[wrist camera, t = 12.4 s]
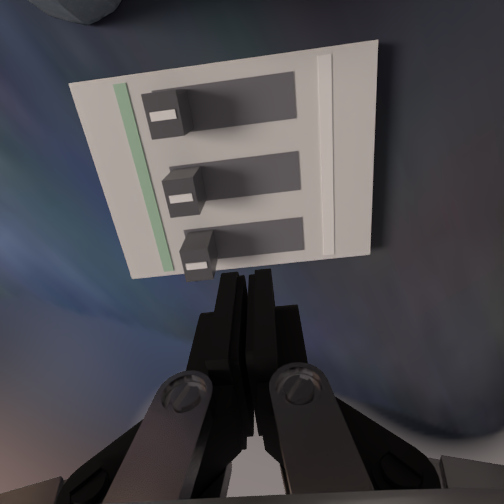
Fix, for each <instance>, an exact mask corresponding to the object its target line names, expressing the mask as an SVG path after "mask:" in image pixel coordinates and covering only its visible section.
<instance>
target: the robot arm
mask: <svg viewBox="0 0 504 504" xmlns="http://www.w3.org/2000/svg"><path fill="white" fill-rule="evenodd" d="M254 411H255V417H256V423H257V428H258V434H259V436H263V440H264V446H265V450H266V451H267V452H268V453H269V454H270V455H271V456H272V457H274V459H276V460H277V461H278V462H279V463H280V469H281V474H282V479H283V484H284V489H285V494H286V495H268V496H247V497H226V496H227V491H228V486H229V481H230V477H231V471H232V462H231V461H232V460H233V459H234V458H235V457H236V456H237V455H238V454H239V453H240V452H241V450H243V449H244V450H245V449H246V448H247V437H250V436H253V434H254ZM0 504H504V465H498V464H492V463H486V462H480V461H474V460H468V459H462V458H456V457H450V456H444V455H441V457H440V460H438V459H432V458H427V457H426V456H425V455H424V454H423V453H421V452H420V451H419V450H418V449H416V448H415V447H413V446H412V445H410V444H409V443H407V442H406V441H404V440H403V439H401V438H399V437H398V436H396V435H394V434H393V433H391V432H390V431H388V430H387V429H385V428H384V427H382V426H380V425H379V424H377V423H376V422H374V421H373V420H371V419H369V418H368V417H366V416H365V415H363V414H362V413H360V412H359V411H357V410H356V409H354V408H352V407H351V406H349V405H348V404H346V403H345V402H343V401H341V400H340V399H338V398H337V397H335V396H334V393H333V391H332V389H331V386H330V384H329V382H328V379H327V378H326V376H325V375H324V373H323V372H322V371H321V370H320V369H318V368H317V367H315V366H313V365H311V364H308V362H307V356H306V350H305V344H304V339H303V333H302V327H301V321H300V315H299V310H298V305H287V306H275V301H274V292H273V283H272V274H271V269H260V270H255V274H252V275H249V285H248V294H247V287H246V281H245V276H244V275H242V276H239V274H238V272H229V273H222V274H221V278H220V284H219V289H218V294H217V299H216V305H215V310H214V312H208V313H201V314H200V316H199V320H198V324H197V328H196V332H195V336H194V340H193V344H192V348H191V352H190V356H189V361H188V365H187V369H186V371H183V372H180V373H177V374H175V375H173V376H172V377H170V378H169V379H167V380H166V381H165V382H164V383H163V384H162V385H161V387H160V388H159V389H158V391H157V393H156V395H155V397H154V399H153V401H152V403H151V405H150V407H149V409H148V411H147V413H146V415H145V417H144V419H143V420H142V421H140V422H139V423H138V424H136V425H135V426H134V427H132V428H131V429H130V430H128V431H127V432H126V433H124V434H123V435H122V436H120V437H119V438H118V439H116V440H115V441H114V442H112V443H111V444H110V445H108V446H107V447H106V448H105V449H103V450H102V451H101V452H99V453H98V454H97V455H95V456H94V457H93V458H91V459H90V460H89V461H87V462H86V463H85V464H84V465H82V466H81V467H80V468H79V469H77V470H76V471H75V472H74V473H73V474H72V475H71V476H70V477H69V478H68V479H66V480H63V478H62V477H61V476H59V477H56V478H53V479H49V480H46V481H42V482H39V483H36V484H32V485H28V486H25V487H22V488H18V489H15V490H11V491H8V492H4V493H1V494H0Z"/></svg>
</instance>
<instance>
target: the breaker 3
mask: <svg viewBox="0 0 504 504" xmlns="http://www.w3.org/2000/svg"><path fill="white" fill-rule="evenodd" d="M179 253H180V257H181V261H182V265H183V269H184V274H185V278H186V282H191V281H201V280H211V279H214V275H215V270H216V265H217V261H218V255H217V249H216V244H215V239H214V234H213V230H207V231H198V232H189V233H187V235H186V238H185V240H184V242H183V244H182V246H181V248H180V251H179Z"/></svg>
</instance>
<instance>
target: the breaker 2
mask: <svg viewBox="0 0 504 504" xmlns="http://www.w3.org/2000/svg"><path fill="white" fill-rule="evenodd" d="M162 185H163V190H164V194H165V198H166V202H167V206H168V210H169V214H170V218H175V217H184V216H193V215H200V214H201V211H202V209H203V207H204V204H205V202H206V200H207V199H206V193H205V188H204V183H203V177H202V172H201V167H200V166H195V167H187V168H179V169H173V170H172V171H171V172H170V173H169V174H168V175H167V176H166V177H165V178H164V179H163V180H162Z"/></svg>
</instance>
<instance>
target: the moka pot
mask: <svg viewBox="0 0 504 504" xmlns="http://www.w3.org/2000/svg"><path fill="white" fill-rule="evenodd" d="M28 1H30V2H31V3H32V4H34V5H35V6H36V7H38V8H39V9H40V10H42V11H43V12H44V13H46V14H48V15H49V16H52V17H55V18H58V19H62V20H66V21H70V22H74V23H79V24H83V25H89V24H92V23H94V22H97V21H99V20H100V19H102V18H103V17H105V16H107V15H108V14H110V13H112V12H114V10H115V9H116V8H117V7H118V6H119V3H120V2H121V0H28Z"/></svg>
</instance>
